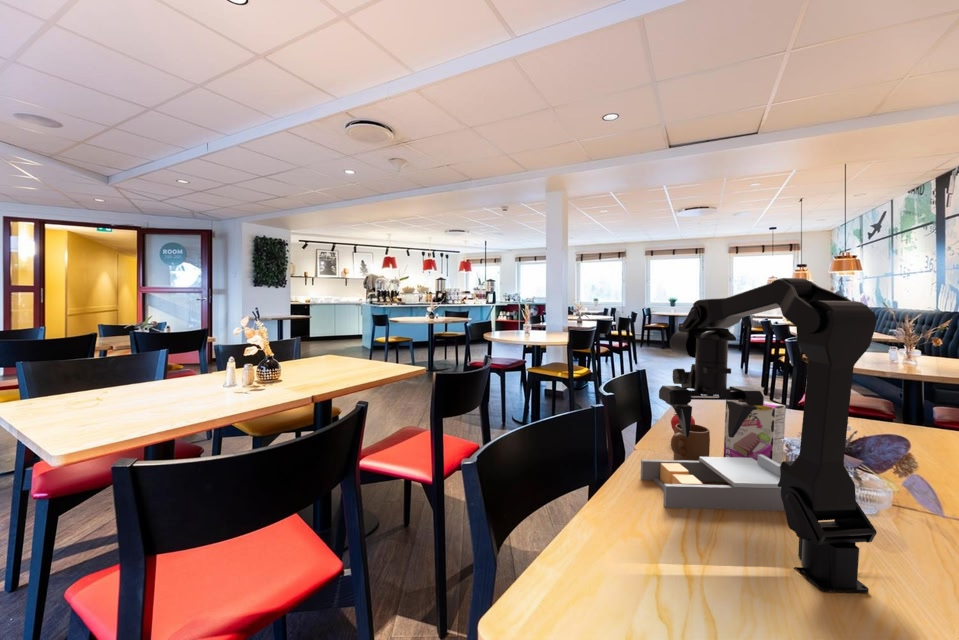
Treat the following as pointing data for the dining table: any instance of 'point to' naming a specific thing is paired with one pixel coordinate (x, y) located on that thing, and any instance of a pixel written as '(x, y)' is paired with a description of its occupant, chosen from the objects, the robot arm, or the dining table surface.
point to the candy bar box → (758, 434)
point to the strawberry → (676, 421)
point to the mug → (691, 443)
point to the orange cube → (671, 471)
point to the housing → (710, 490)
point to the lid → (745, 471)
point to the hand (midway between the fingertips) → (708, 436)
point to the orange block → (685, 479)
